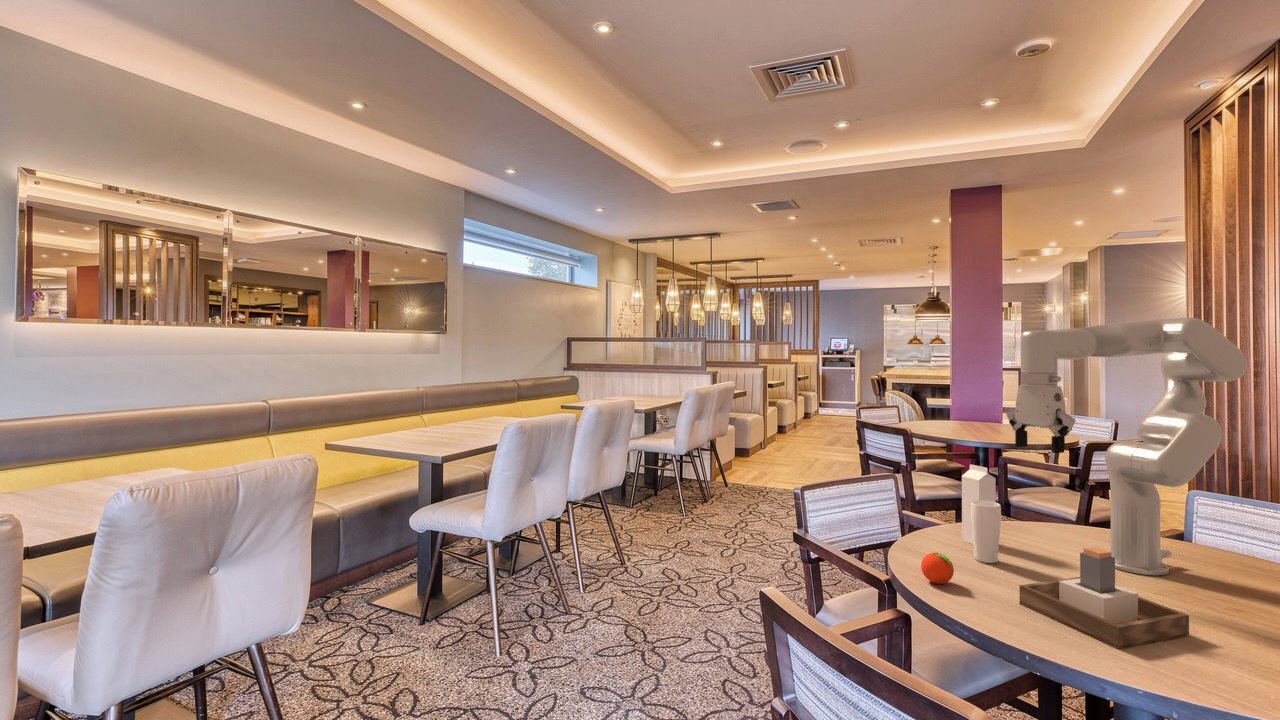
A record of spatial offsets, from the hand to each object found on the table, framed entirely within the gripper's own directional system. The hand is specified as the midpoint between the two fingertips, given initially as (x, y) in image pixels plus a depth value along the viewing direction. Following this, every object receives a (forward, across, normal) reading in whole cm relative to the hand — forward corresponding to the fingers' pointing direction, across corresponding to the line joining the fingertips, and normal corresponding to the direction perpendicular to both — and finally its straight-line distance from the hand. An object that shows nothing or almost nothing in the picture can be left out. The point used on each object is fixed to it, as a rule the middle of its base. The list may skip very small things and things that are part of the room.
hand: (1039, 449), depth 142 cm
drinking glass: (+31, +10, +6) cm, 33 cm away
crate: (+30, -23, +12) cm, 40 cm away
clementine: (+31, +1, +29) cm, 42 cm away
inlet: (+30, -22, +11) cm, 39 cm away
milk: (+31, +22, -4) cm, 38 cm away
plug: (+28, -22, +11) cm, 37 cm away
